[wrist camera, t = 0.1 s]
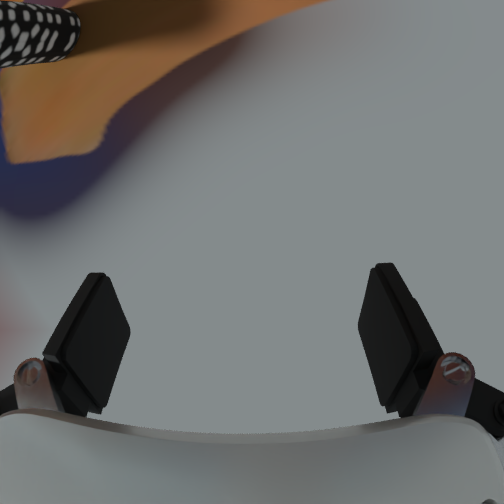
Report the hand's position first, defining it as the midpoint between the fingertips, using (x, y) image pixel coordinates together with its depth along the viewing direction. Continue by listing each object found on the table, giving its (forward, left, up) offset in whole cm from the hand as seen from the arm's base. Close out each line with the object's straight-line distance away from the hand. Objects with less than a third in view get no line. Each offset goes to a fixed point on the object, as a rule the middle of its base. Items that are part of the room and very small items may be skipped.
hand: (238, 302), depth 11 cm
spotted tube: (-19, -26, -31) cm, 45 cm away
